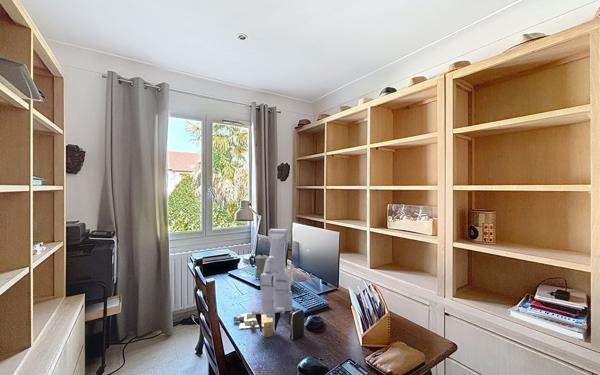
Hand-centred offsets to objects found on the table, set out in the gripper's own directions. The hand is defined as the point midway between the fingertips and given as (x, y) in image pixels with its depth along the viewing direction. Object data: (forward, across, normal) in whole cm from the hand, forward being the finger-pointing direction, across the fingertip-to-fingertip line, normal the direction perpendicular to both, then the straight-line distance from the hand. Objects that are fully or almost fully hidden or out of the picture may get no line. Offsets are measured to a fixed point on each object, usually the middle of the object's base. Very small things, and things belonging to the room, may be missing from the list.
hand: (268, 329), depth 117 cm
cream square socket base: (+2, -8, +11) cm, 14 cm away
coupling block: (+2, 0, 0) cm, 2 cm away
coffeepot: (+2, -3, +72) cm, 72 cm away
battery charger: (+2, +12, -4) cm, 13 cm away
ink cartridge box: (+2, +14, +51) cm, 53 cm away
